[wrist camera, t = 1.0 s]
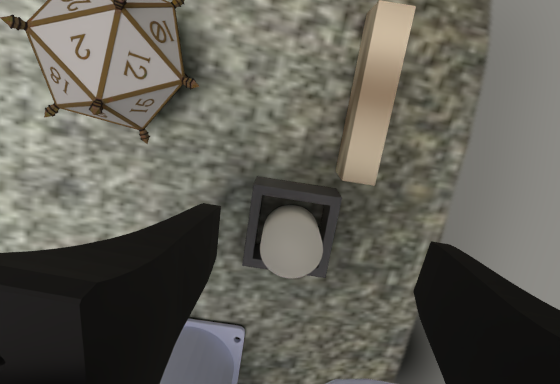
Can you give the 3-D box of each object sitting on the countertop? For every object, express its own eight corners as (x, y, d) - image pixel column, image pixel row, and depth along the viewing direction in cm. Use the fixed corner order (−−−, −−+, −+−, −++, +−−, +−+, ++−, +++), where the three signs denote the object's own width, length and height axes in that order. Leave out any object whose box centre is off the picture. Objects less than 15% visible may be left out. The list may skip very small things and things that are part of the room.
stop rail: (363, 175, 24) (374, 185, 21) (335, 171, 24) (342, 180, 21) (398, 19, 22) (415, 6, 19) (366, 13, 22) (379, 0, 19)
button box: (321, 261, 26) (325, 277, 23) (246, 250, 26) (242, 265, 23) (336, 188, 24) (341, 197, 22) (256, 176, 24) (253, 184, 22)
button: (313, 260, 23) (316, 282, 20) (259, 252, 23) (255, 273, 20) (322, 209, 22) (328, 225, 20) (267, 200, 22) (264, 215, 20)
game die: (137, 71, 26) (-40, 16, 18) (205, -21, 22) (12, -146, 14) (175, 172, 24) (-12, 162, 16) (260, 91, 19) (64, 18, 11)
